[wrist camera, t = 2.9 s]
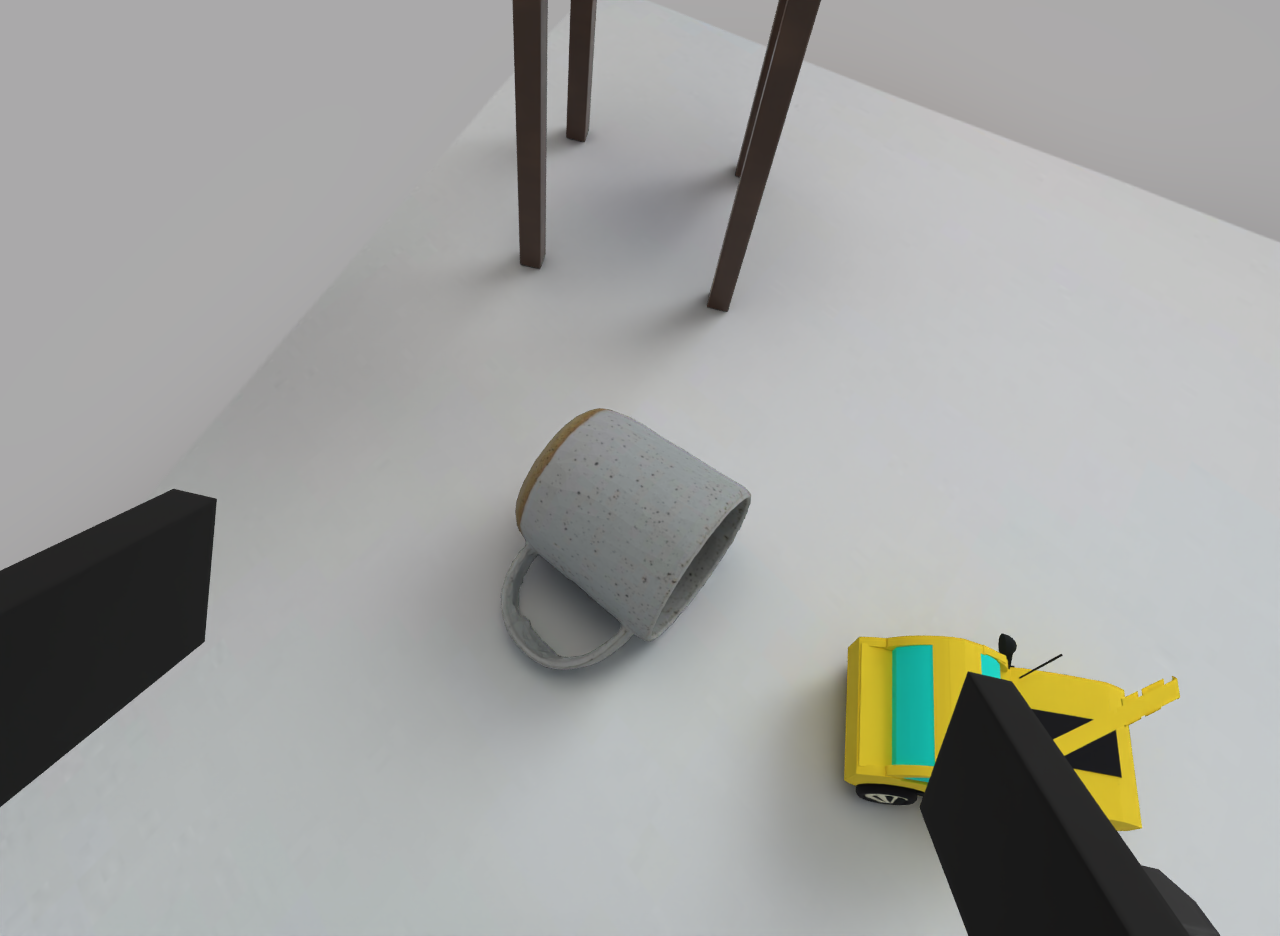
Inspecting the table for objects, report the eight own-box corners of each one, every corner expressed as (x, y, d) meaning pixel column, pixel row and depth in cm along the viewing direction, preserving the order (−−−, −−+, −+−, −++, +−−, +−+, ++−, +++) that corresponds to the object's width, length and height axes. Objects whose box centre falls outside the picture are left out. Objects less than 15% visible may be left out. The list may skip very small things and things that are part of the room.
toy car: (829, 813, 36) (903, 781, 29) (836, 637, 40) (902, 569, 32) (1109, 862, 36) (1253, 843, 29) (1089, 682, 40) (1212, 625, 33)
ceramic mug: (601, 448, 43) (610, 360, 36) (736, 542, 41) (772, 467, 35) (458, 609, 39) (438, 542, 32) (603, 721, 37) (615, 675, 30)
